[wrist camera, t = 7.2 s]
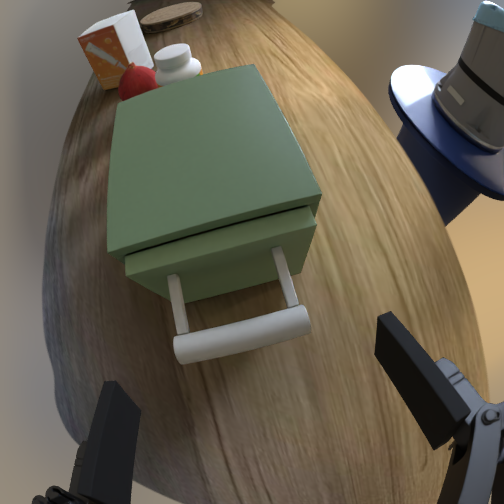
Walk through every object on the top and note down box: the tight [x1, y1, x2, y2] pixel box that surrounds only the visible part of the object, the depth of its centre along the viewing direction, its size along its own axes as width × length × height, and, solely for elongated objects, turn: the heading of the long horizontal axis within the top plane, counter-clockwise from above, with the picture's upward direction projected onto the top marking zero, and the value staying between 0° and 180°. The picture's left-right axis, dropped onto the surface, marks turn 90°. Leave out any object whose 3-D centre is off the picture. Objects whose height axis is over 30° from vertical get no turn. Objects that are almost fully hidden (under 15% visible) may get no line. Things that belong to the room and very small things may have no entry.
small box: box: [77, 10, 154, 90], centre depth 31 cm, size 8×6×13 cm
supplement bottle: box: [154, 44, 203, 88], centre depth 26 cm, size 5×5×10 cm
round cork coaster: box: [141, 2, 203, 33], centre depth 46 cm, size 16×16×3 cm
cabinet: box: [107, 64, 322, 264], centre depth 20 cm, size 14×12×11 cm
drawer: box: [124, 206, 317, 364], centre depth 19 cm, size 18×10×9 cm, turn 14°
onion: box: [118, 62, 158, 101], centre depth 29 cm, size 6×6×8 cm
